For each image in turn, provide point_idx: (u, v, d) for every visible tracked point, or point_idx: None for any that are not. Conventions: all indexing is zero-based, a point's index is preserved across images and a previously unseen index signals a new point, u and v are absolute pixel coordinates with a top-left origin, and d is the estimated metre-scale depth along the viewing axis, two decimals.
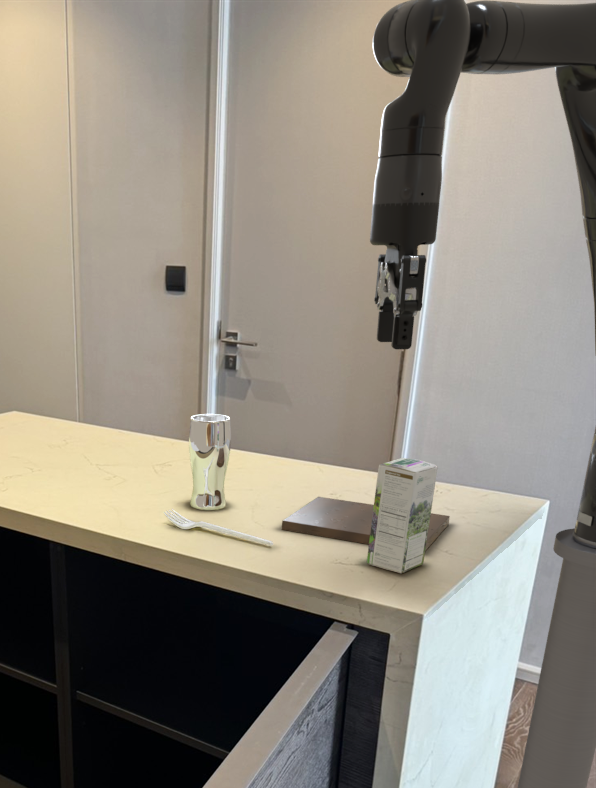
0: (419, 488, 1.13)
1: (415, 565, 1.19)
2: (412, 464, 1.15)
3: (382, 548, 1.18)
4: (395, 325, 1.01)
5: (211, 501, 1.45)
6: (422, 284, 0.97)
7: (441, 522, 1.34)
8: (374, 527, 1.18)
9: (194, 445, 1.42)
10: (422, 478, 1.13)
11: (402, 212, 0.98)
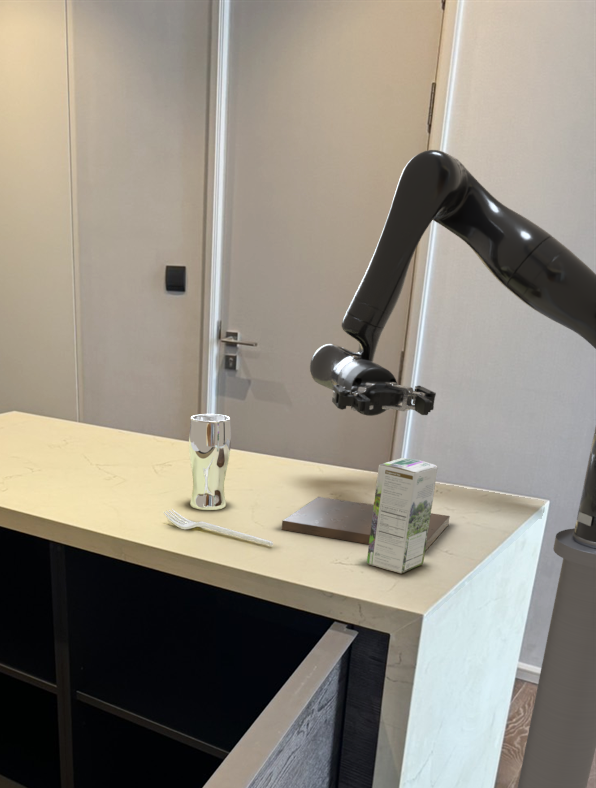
0: (419, 488, 1.13)
1: (415, 565, 1.19)
2: (412, 464, 1.15)
3: (382, 548, 1.18)
4: None
5: (211, 501, 1.45)
6: (336, 389, 1.28)
7: (441, 522, 1.34)
8: (374, 527, 1.18)
9: (194, 445, 1.42)
10: (422, 478, 1.13)
11: None
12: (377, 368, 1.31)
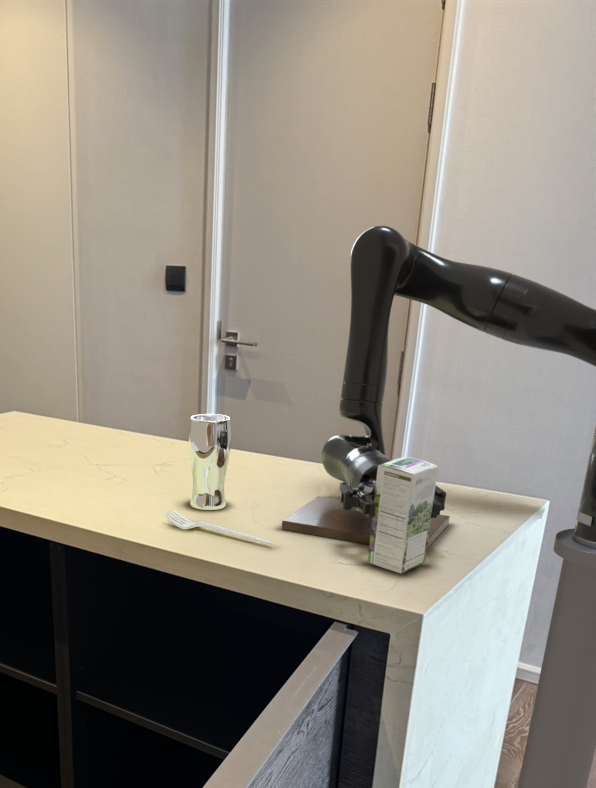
0: (418, 489, 1.13)
1: (416, 564, 1.19)
2: (412, 464, 1.14)
3: (382, 548, 1.18)
4: None
5: (211, 501, 1.45)
6: (342, 488, 1.23)
7: (441, 522, 1.34)
8: (374, 527, 1.18)
9: (194, 445, 1.42)
10: (421, 479, 1.12)
11: None
12: None
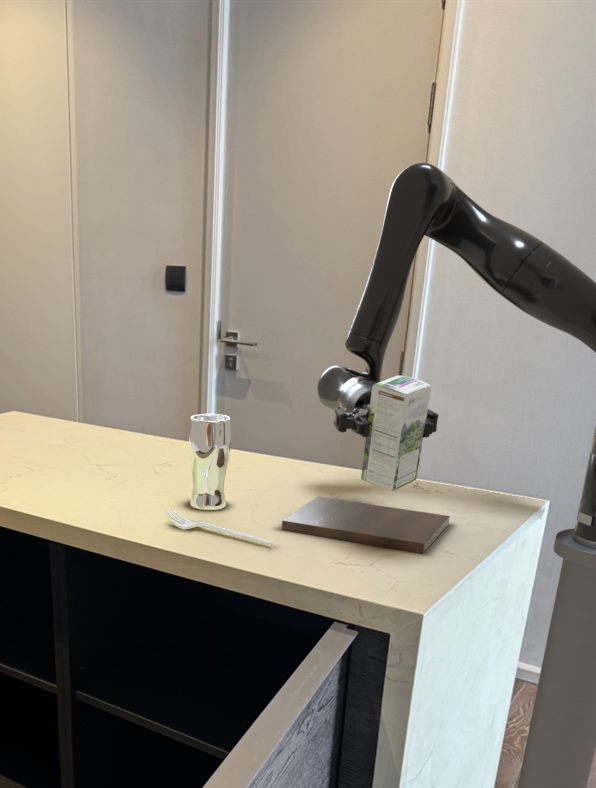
0: (411, 408, 1.16)
1: (407, 482, 1.23)
2: (406, 384, 1.16)
3: (375, 466, 1.22)
4: None
5: (211, 501, 1.45)
6: (337, 412, 1.26)
7: (441, 522, 1.34)
8: (367, 446, 1.22)
9: (194, 445, 1.42)
10: (414, 399, 1.15)
11: None
12: None
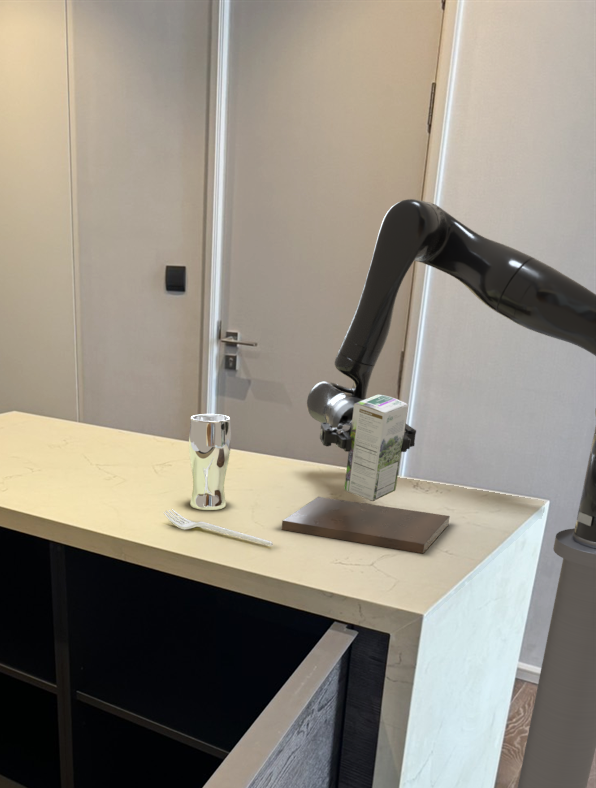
0: (389, 426, 1.26)
1: (387, 492, 1.33)
2: (385, 403, 1.26)
3: (356, 477, 1.32)
4: None
5: (211, 501, 1.45)
6: (322, 427, 1.36)
7: (441, 522, 1.34)
8: (350, 459, 1.32)
9: (194, 445, 1.42)
10: (392, 417, 1.25)
11: None
12: None
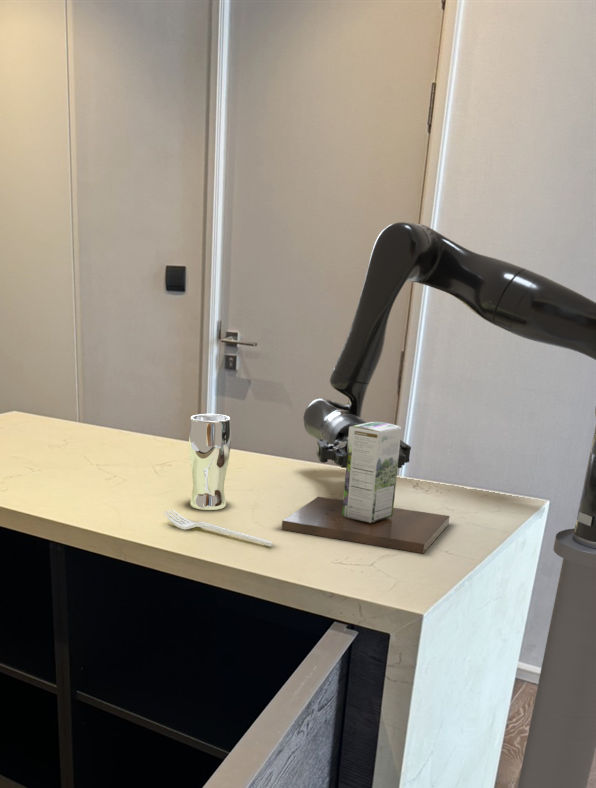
0: (384, 445, 1.29)
1: (384, 516, 1.34)
2: (379, 425, 1.30)
3: (354, 501, 1.34)
4: None
5: (211, 501, 1.45)
6: (319, 444, 1.39)
7: (441, 522, 1.34)
8: (347, 483, 1.34)
9: (194, 445, 1.42)
10: (387, 437, 1.29)
11: None
12: (358, 423, 1.42)
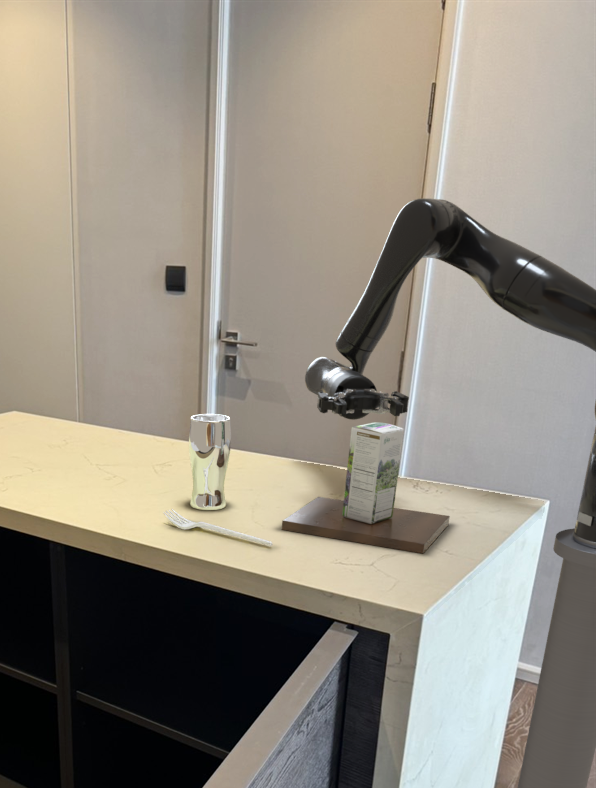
0: (386, 447, 1.29)
1: (384, 517, 1.35)
2: (381, 426, 1.30)
3: (354, 501, 1.34)
4: None
5: (211, 501, 1.45)
6: (319, 395, 1.43)
7: (441, 522, 1.34)
8: (348, 483, 1.34)
9: (194, 445, 1.42)
10: (389, 438, 1.29)
11: None
12: (357, 376, 1.46)
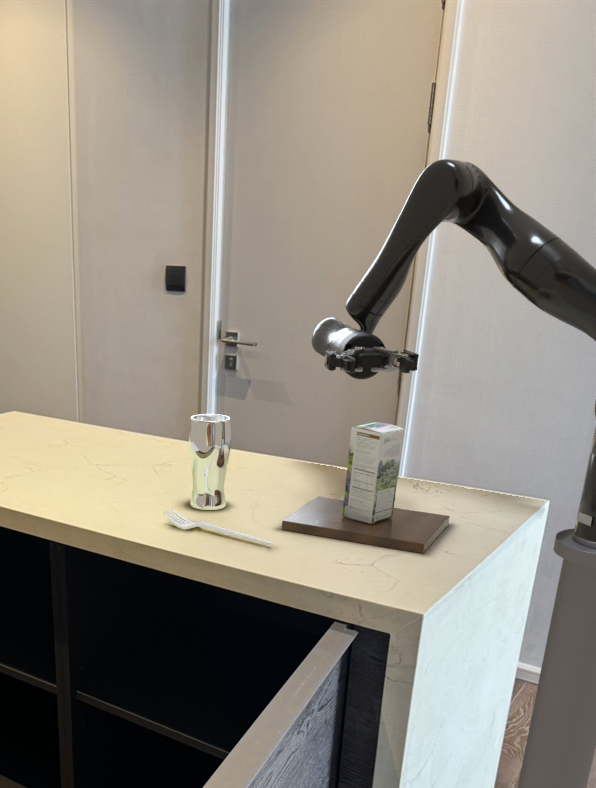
0: (386, 447, 1.29)
1: (384, 517, 1.35)
2: (381, 426, 1.30)
3: (354, 501, 1.34)
4: (346, 370, 1.36)
5: (211, 501, 1.45)
6: (327, 353, 1.40)
7: (441, 522, 1.34)
8: (348, 483, 1.34)
9: (194, 445, 1.42)
10: (389, 438, 1.29)
11: None
12: (366, 334, 1.43)
